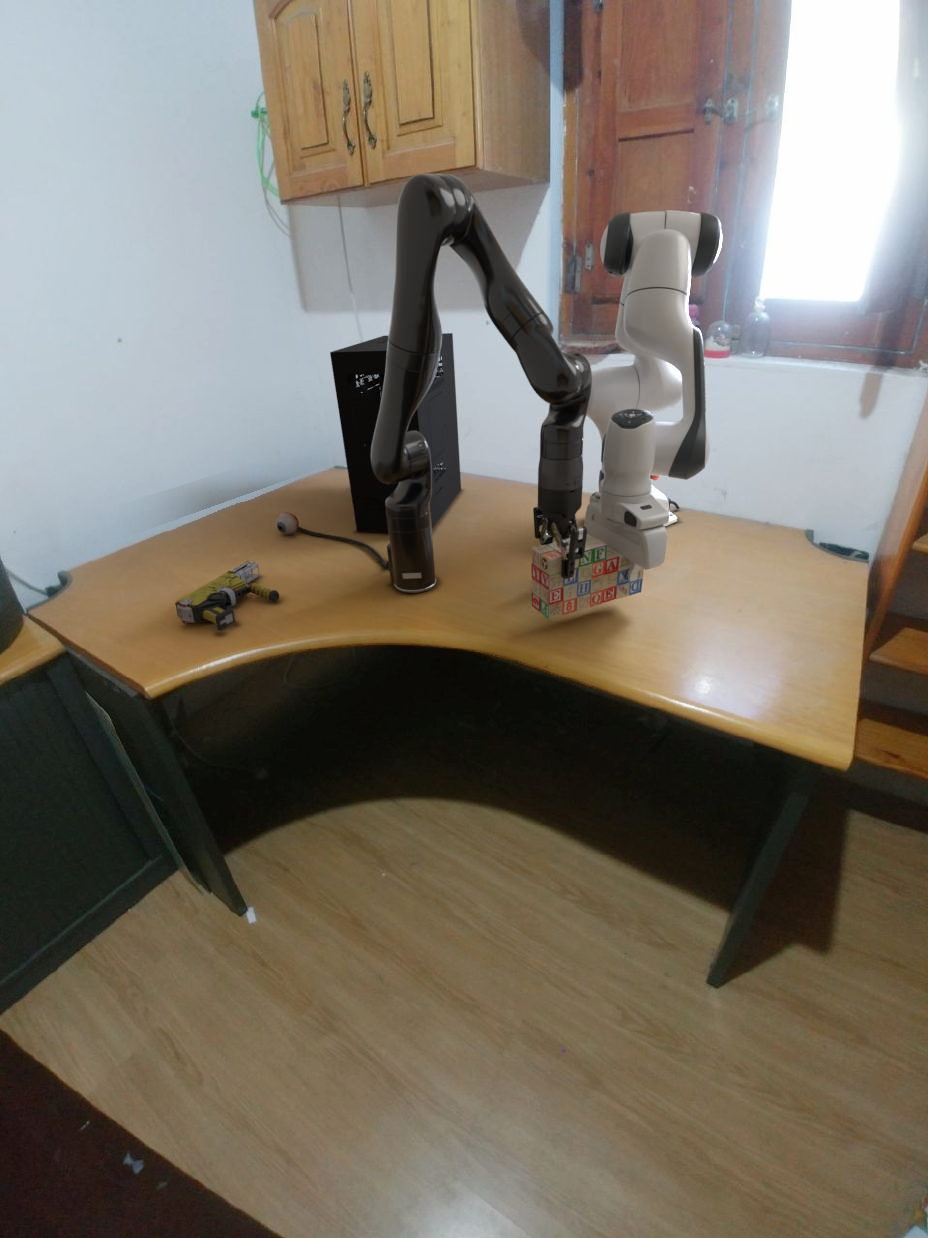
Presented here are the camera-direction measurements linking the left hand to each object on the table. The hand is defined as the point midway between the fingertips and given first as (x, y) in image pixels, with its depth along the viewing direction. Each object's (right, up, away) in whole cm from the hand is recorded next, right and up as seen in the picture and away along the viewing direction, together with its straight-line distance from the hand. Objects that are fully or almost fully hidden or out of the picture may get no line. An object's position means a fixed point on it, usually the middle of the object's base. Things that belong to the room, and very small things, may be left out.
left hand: (557, 570), depth 111 cm
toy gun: (-65, -6, +20) cm, 69 cm away
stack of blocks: (+7, -5, +6) cm, 11 cm away
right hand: (+13, 0, +7) cm, 15 cm away
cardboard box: (-32, +23, +67) cm, 78 cm away
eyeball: (-65, +14, +55) cm, 86 cm away
